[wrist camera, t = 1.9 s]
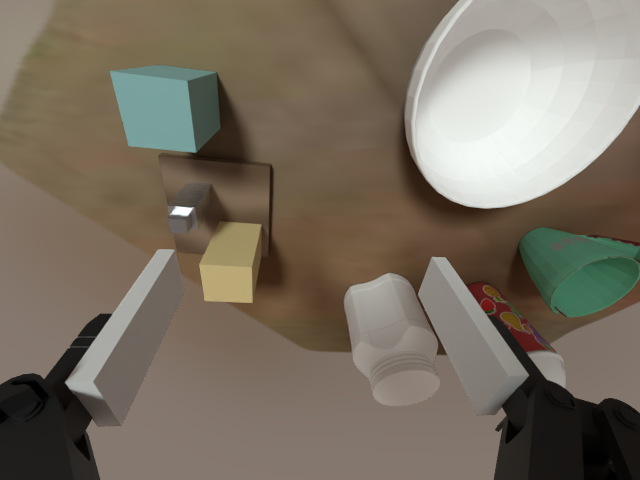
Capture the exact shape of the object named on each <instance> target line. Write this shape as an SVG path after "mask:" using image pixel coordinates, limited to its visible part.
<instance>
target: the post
mask: <svg viewBox="0 0 640 480" xmlns="http://www.w3.org/2000/svg"><path fill="white" fill-rule="evenodd" d="M212 205H213V199H212V189H211V184H208V183H196V182H187V183H186V184H185V185H184V187H183V188H182V189H181V190H180V191H179V192H178V194H177V195H176V196H175V197H174V198H173V200H172V201H171V202H170V203H169V204H168V205H167V207H168V212H169V217H168V223H169V228H170V233H184V234H188V232H189V231H190V230H199V228H200V226H201V224H202V222H203V221H204V219H205V217H206V215H207V214H208V212H209V210H210V208H211V207H212Z"/></svg>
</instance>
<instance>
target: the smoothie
mask: <svg viewBox="0 0 640 480" xmlns="http://www.w3.org/2000/svg"><path fill="white" fill-rule="evenodd" d="M467 288H468V290H469V291H470V293H471V294H472V295H473V297H474V298H475V300H476V301H477V302H478V304H479V305H480V307H481V308H482V310H483V311H484V312H485V314H486V315H487V316H495V317H497V318H498V319H499V320H500V321H501V322H503V323H504V324H505V325H506V326H507V328H508V329H509V330H510V332H511V333H512V334H513V337H515V338H516V340H517V341H518V342H519V345H520V346H522V348H523V349H524V350H525V351H526V353H527V354H528V355H529V357H530V358H531V359H532V361H533V362H534V363H535V365H536V366H537V367H538V369H539V370H540V371H541V373H542V374H543V375H544V377H545V378H546V379H547V380H550V381H552V382H555V383H557V384H559V385H560V386H562V387H564V388H566V373H565V369H564V366H563V365H564V361H563V358H562V357H561V356H560V355H559V354H558V353H557V352H556V351H555V350H554V349H553V348H552V347H551V346H550V344H549V343H548V342H547V341H546V340H545V339H544V338H543V337H542V336H541V335H540V334H539V333H538V332H537V331H536V330H535V328H534V327H533V326H532V325H531V324H530V323H529V322H528V321H527V320H526V319H525V318H524V317H523V316H522V315H521V314H520V312H519V311H518V310H517V309H516V308H515V307H514V306H513V305H512V304H511V303H510V302H509V301H508V300H507V299H506V298H505V296H504V295H503V294H502V293H501V292H500V291H499V290H498V289H497V288H495V287H493V286H490V285H489V284H486V283H474V284H471V285H469V286H467Z"/></svg>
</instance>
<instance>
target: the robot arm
mask: <svg viewBox="0 0 640 480" xmlns="http://www.w3.org/2000/svg"><path fill="white" fill-rule="evenodd" d="M184 292H185V289H184V285H183V281H182V277H181V273H180V269H179V265H178V261H177V257H176V253H175V250H165V249H158V250H157V252H156V253H155V255H154V256H153V258H152V259H151V261H150V262H149V263H148V265H147V266H146V268H145V269H144V270H143V272H142V273H141V275H140V276H139V278H138V279H137V280H136V282H135V283H134V285H133V286H132V288H131V289H130V290H129V292H128V293H127V295H126V296H125V297H124V299H123V300H122V302H121V303H120V305H119V306H118V307H117V309H116V310H115V312H114V313H113V314H99V315H98V316H97V317H96V318H94V319H93V320H92V321H90V322H89V323H88V324H87V325H86V326H85V327H84V328H83V330H82V331H81V332H80V334H79V335H78V338H76V339H75V340H74V341H73V343H72V344H71V345H70V348H69V349H67V351H66V352H65V353H64V354H63V356H62V357H61V358H60V360H59V361H58V362H57V364H56V365H55V366H54V367H53V369H52V370H51V371H50V373H49V374H48V375H47V377H46V378H45V379H43V378H42V377H41V376H40V375H37V374H34V373H32V374H23V375H20V376H17V377H14V378H11V379H10V380H8V381H6V382H4V383H2V384H1V385H0V480H100V477H99V474H98V470H97V466H96V462H95V459H94V455H93V451H92V447H91V444H90V440H89V436H88V434H87V432H86V431H85V430H86V429H87V427H88V425H89V423H90V421H91V420H92V419H93V421H94V422H95V423H96V425H97V426H98V427H104V426H122V424H123V422H124V420H125V418H126V416H127V413H128V411H129V409H130V407H131V405H132V403H133V401H134V399H135V396H136V394H137V392H138V390H139V388H140V386H141V384H142V382H143V379H144V377H145V375H146V373H147V371H148V369H149V367H150V365H151V362H152V360H153V358H154V356H155V354H156V352H157V350H158V347H159V345H160V343H161V341H162V339H163V337H164V335H165V332H166V330H167V328H168V326H169V324H170V322H171V320H172V318H173V316H174V313H175V311H176V309H177V307H178V305H179V303H180V301H181V299H182V296H183V294H184ZM418 296H419V298H420V300H421V302H422V304H423V306H424V308H425V310H426V312H427V314H428V316H429V318H430V320H431V323H432V325H433V327H434V329H435V331H436V333H437V335H438V337H439V339H440V341H441V343H442V345H443V347H444V349H445V351H446V353H447V355H448V357H449V359H450V361H451V363H452V365H453V367H454V370H455V371H456V373H457V376H458V378H459V380H460V382H461V384H462V386H463V388H464V390H465V392H466V394H467V396H468V398H469V400H470V402H471V404H472V406H473V408H474V410H475V413H476V415H495V414H496V413H497V412H498V411H499V410H500V409H501V407H502V408H503V409H504V411H505V413H506V415H507V416H506V417H505V418H504V419H503V420H502V421H501V422H500V423H499V425H498V426H497V428H496V429H495V430H496V431H498V432H499V431H500V430H501V429H502V434H501V440H500V446H499V452H498V457H497V463H496V469H495V475H494V480H640V413H639V412H638V411H637V410H635V409H634V408H632V407H631V406H629V405H628V404H626V403H624V402H622V401H620V400H617V399H613V398H608V399H604V400H603V401H602V402H600V404H595V403H591V402H588V401H584V400H581V399H577V398H574V397H573V395H572V394H571V393H569V392H568V391H567V390H566V389H565V388H564V387H562V386H560V385H559V384H557V383H555V382H552V381H550V380H547V379H546V378H545V377H544V375H543V374H542V373H541V371H540V370H539V369H538V367H537V366H536V365H535V363H534V362H533V361H532V359H531V358H530V357H529V355H528V354H527V353H526V351H525V350H524V349H523V348H522V346H520V345H519V342H518V341H517V340H516V338H515V337H513V334H512V333H511V332H510V330H509V329H508V328H507V326H506V325H505V324H504V323H503V322H501V321H500V320H499V319H498V318H497V317H495V316H487V315H486V314H485V312H484V311H483V310H482V308H481V307H480V305H479V304H478V302H477V301H476V300H475V298H474V297H473V295H472V294H471V293H470V291H469V290H468V288H467V287H466V286H465V284H464V283H463V281H462V280H461V279H460V277H459V276H458V274H457V273H456V271H455V270H454V269H453V267H452V266H451V264H450V263H449V262H448V260H447V259H446V257H432V258H431V261H430V263H429V266H428V269H427V271H426V274H425V277H424V279H423V282H422V285H421V287H420V290H419V293H418Z"/></svg>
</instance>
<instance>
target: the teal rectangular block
mask: <svg viewBox="0 0 640 480" xmlns="http://www.w3.org/2000/svg"><path fill="white" fill-rule="evenodd" d="M110 74H111V78H112V82H113V86H114V90H115V93H116V97H117V101H118V105H119V109H120V113H121V117H122V121H123V125H124V129H125V133H126V137H127V141H128V145H129V146H134V147H144V148H154V149H165V150H175V151H185V152H195V153H196V152H197V151H198V150H199V149H200V148H201V147H202V146H203V145H204V144H205V143H206V142H207V141H208V140H209V139H210V138H211V137H212V136H213V135H214V134H215V133H216V132H217V131H218V130H219V129H220V128H221V126H220V113H219V99H218V85H217V72H210V71H202V70H194V69H186V68H179V67H171V66H163V65H157V66H149V67H141V68H133V69H124V70H116V71H110Z"/></svg>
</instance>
